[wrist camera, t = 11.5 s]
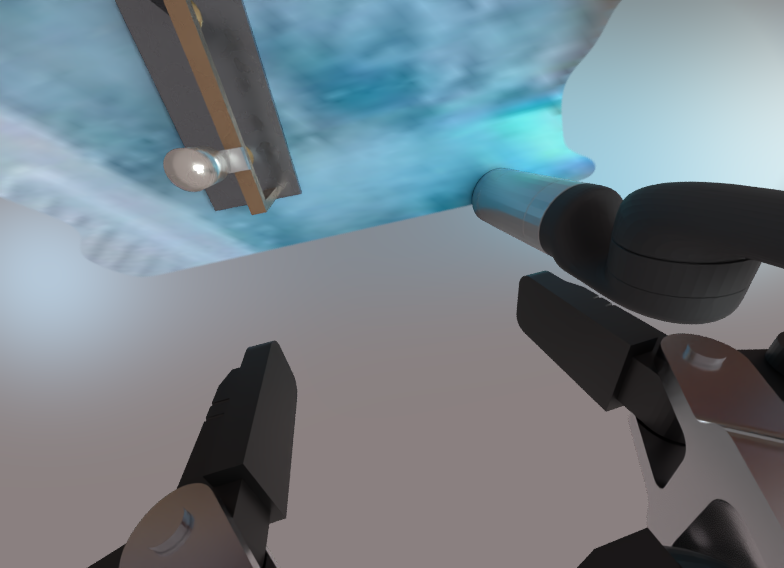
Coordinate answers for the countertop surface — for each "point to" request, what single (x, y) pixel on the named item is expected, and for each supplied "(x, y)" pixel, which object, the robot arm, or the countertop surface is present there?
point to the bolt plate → (234, 83)
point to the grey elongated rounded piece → (203, 166)
